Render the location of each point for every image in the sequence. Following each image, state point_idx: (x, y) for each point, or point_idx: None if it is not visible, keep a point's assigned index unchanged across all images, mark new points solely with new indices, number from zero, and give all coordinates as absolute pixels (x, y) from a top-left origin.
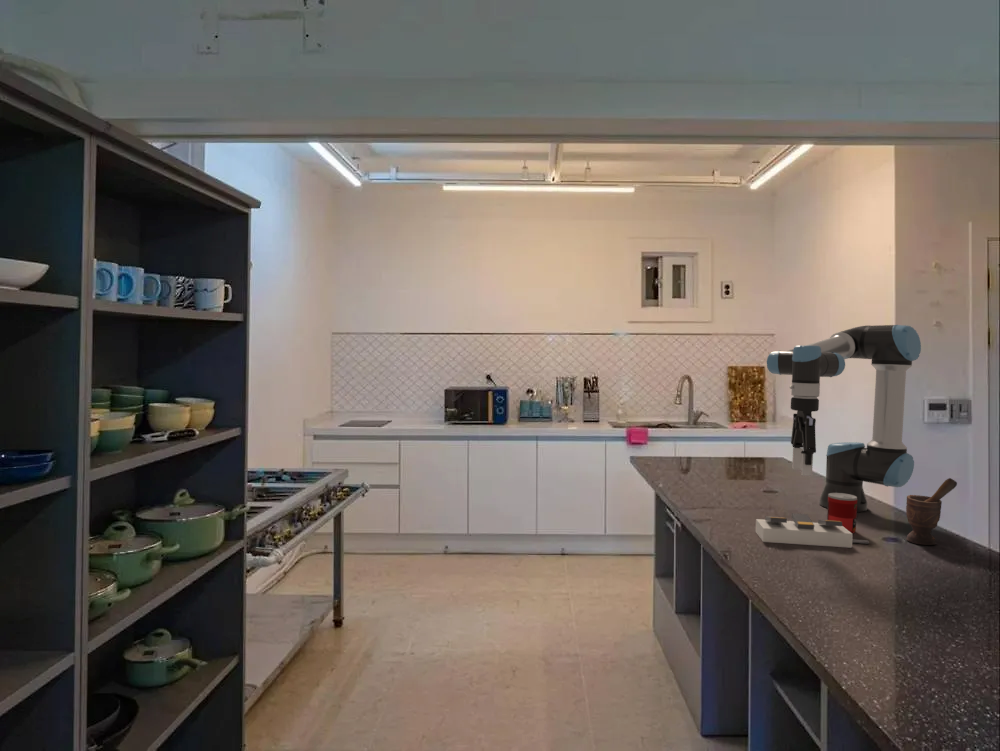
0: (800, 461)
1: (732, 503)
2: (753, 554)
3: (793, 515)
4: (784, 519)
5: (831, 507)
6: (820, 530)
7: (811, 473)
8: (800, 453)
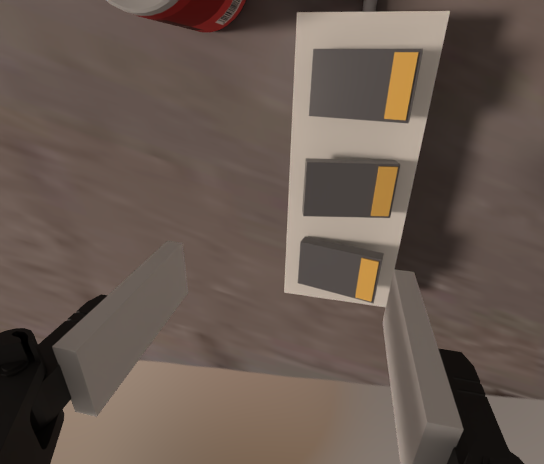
0: (154, 285)
1: (25, 239)
2: (495, 339)
3: (320, 215)
4: (380, 264)
5: (191, 15)
6: (402, 137)
7: (416, 287)
8: (114, 331)
